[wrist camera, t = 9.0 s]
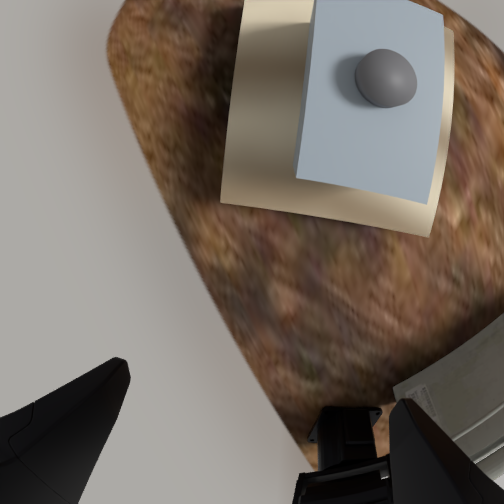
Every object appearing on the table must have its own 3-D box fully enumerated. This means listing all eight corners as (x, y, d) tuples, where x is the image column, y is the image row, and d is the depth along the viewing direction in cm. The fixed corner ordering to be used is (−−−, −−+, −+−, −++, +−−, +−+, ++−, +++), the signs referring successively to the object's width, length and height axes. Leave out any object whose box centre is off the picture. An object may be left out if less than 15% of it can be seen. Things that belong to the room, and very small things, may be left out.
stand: (410, 222, 17) (428, 237, 14) (230, 192, 18) (220, 202, 15) (432, 42, 12) (453, 31, 10) (253, 2, 13) (248, -19, 10)
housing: (309, 22, 11) (320, -34, 6) (401, 44, 11) (451, 9, 5) (292, 165, 14) (297, 181, 9) (385, 183, 14) (436, 210, 8)
